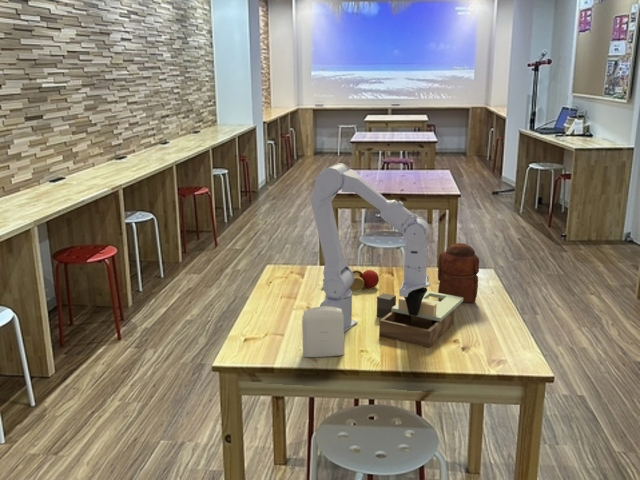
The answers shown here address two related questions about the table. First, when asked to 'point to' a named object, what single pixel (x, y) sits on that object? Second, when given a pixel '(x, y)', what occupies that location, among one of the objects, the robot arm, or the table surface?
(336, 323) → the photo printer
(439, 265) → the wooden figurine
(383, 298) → the dark brown block
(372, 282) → the kendama
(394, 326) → the brown wooden box
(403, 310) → the lid
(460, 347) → the table surface
